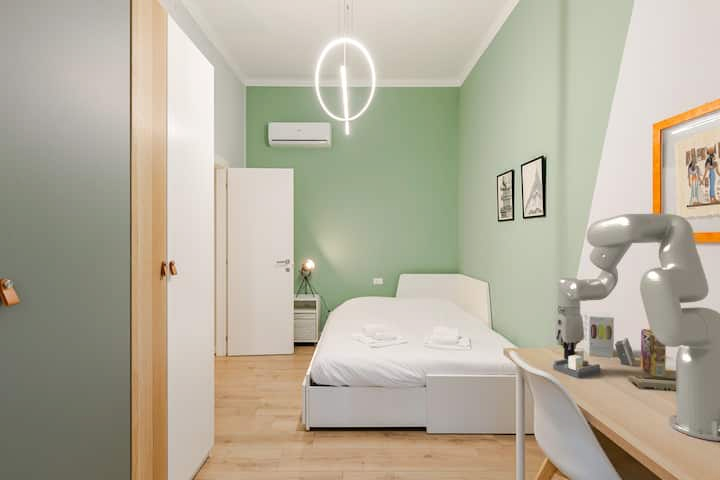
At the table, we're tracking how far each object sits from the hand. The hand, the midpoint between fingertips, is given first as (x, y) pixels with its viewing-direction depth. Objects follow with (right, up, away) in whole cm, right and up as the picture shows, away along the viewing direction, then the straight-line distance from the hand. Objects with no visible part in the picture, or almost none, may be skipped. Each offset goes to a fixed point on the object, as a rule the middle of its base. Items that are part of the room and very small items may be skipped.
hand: (569, 359), depth 153 cm
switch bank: (+2, -4, -2) cm, 5 cm away
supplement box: (+23, -4, +20) cm, 31 cm away
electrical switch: (+26, -4, +8) cm, 28 cm away
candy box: (+28, -4, -5) cm, 29 cm away
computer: (+21, -5, -17) cm, 28 cm away
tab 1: (+4, -2, +2) cm, 4 cm away
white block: (-1, -2, -6) cm, 6 cm away
